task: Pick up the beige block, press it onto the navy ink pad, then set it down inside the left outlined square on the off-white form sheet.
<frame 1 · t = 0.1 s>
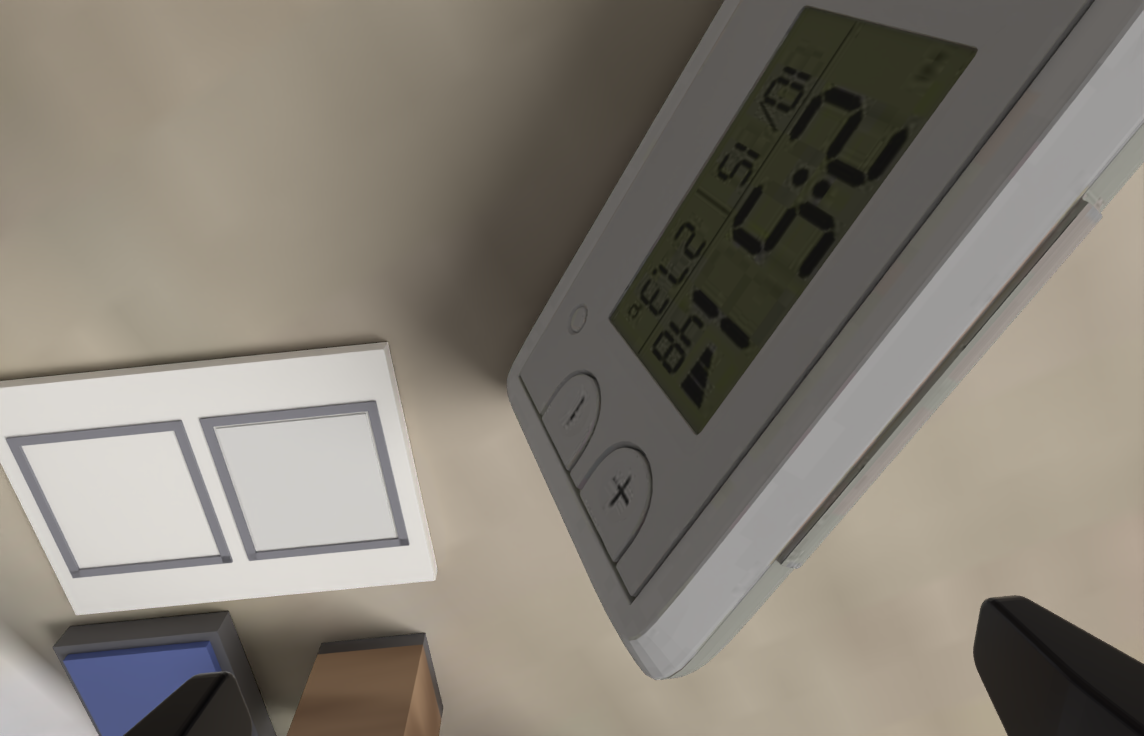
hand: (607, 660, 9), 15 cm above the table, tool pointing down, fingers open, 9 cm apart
form sheet: (225, 482, 24), on the table
beige block: (384, 675, 28), on the table
ink pad: (179, 687, 28), on the table
digital clock: (701, 210, 21), on the table
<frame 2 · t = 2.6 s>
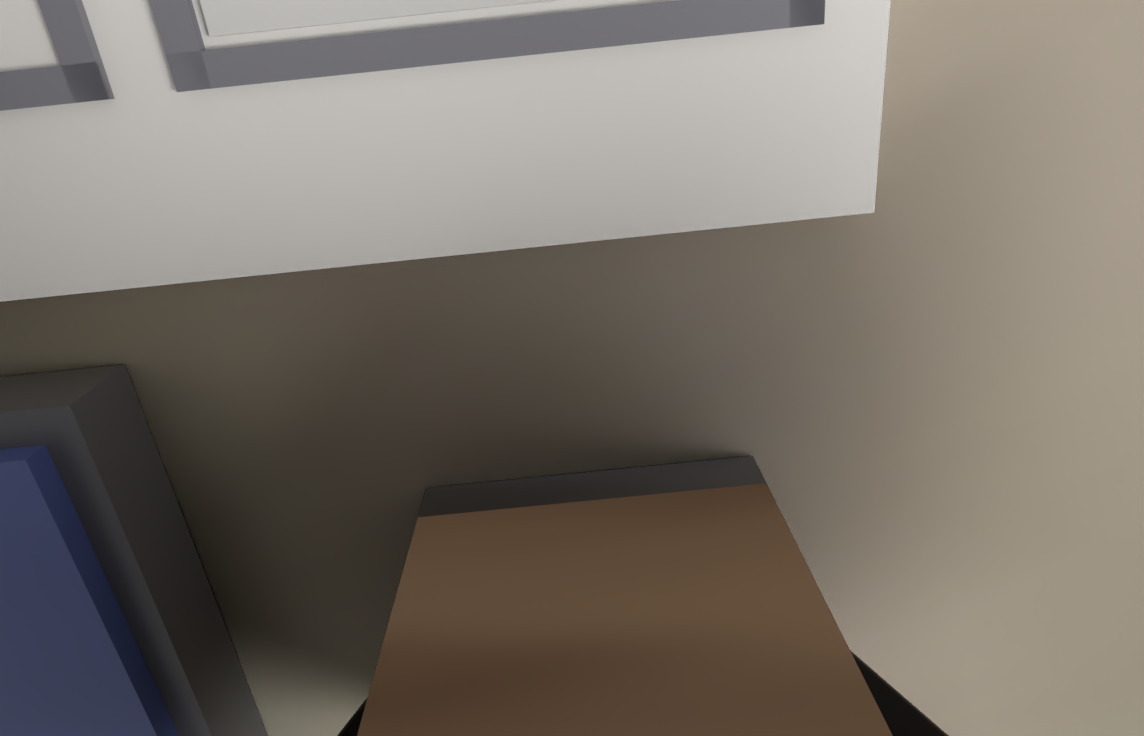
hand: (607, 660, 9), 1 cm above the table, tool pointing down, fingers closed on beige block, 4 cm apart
beige block: (601, 599, 10), on the table, touching gripper
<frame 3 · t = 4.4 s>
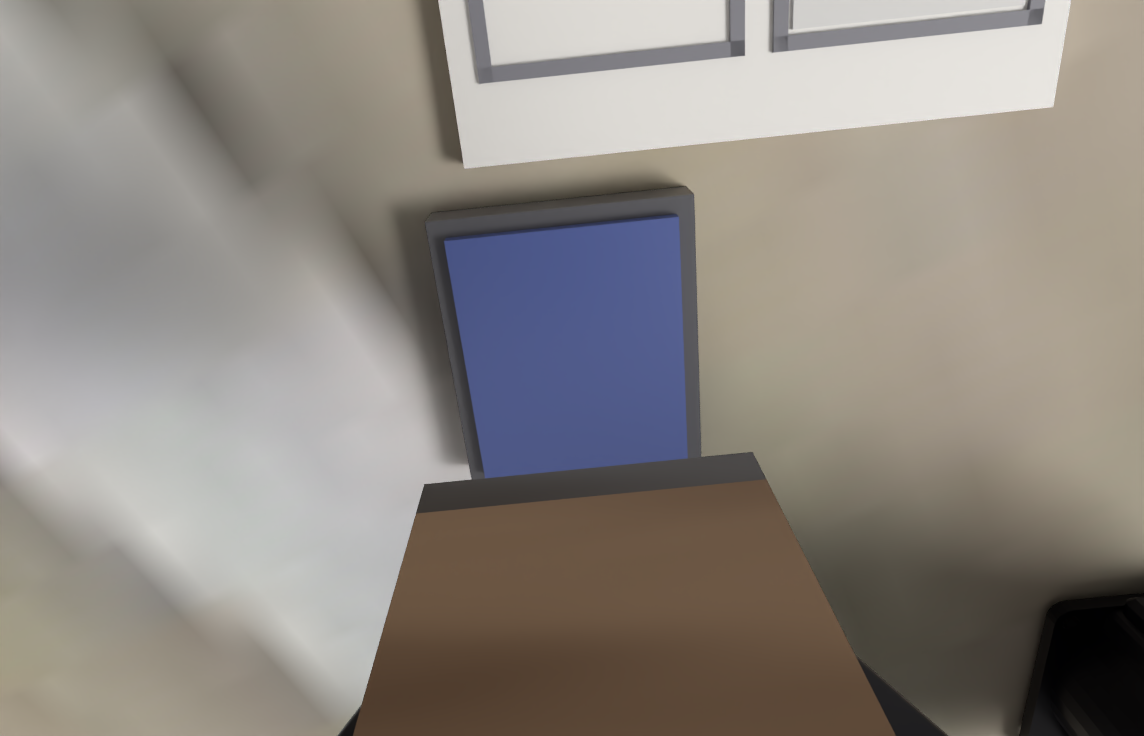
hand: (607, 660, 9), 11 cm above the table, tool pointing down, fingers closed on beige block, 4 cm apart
beige block: (601, 596, 10), point 10 cm above the table, touching gripper
ink pad: (572, 337, 18), on the table
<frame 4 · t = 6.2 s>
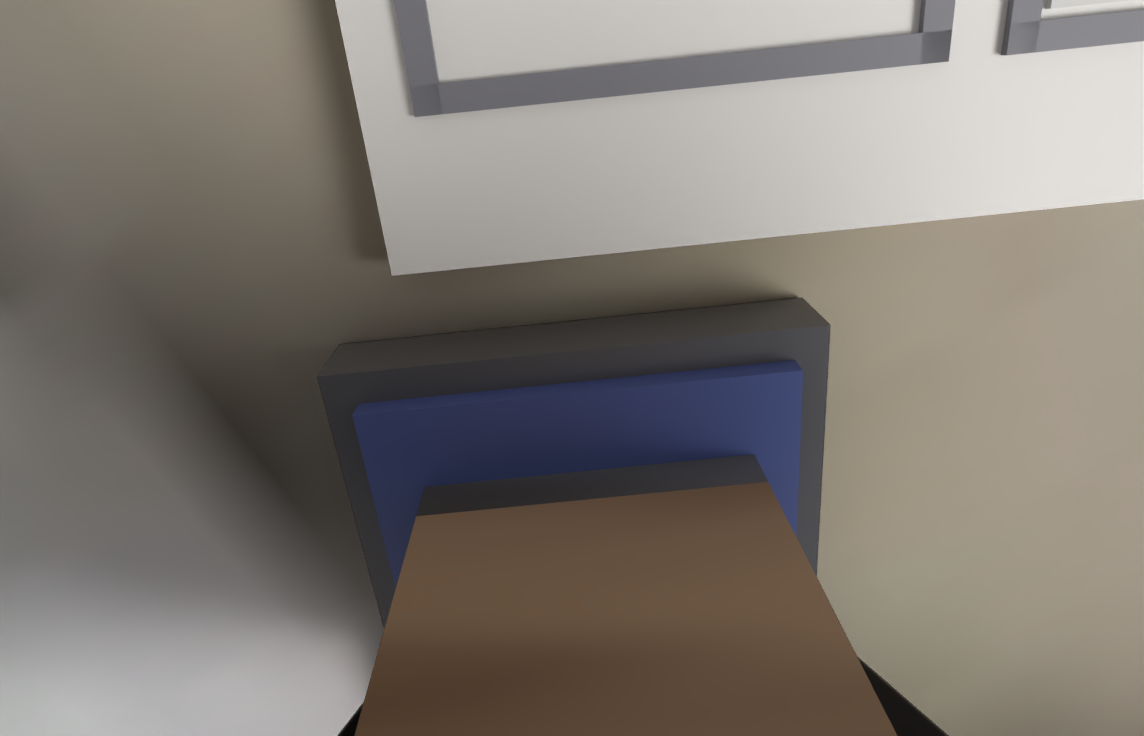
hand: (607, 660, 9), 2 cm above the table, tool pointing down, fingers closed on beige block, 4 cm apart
beige block: (601, 599, 9), point 1 cm above the table, touching gripper, ink pad
ink pad: (592, 540, 11), on the table
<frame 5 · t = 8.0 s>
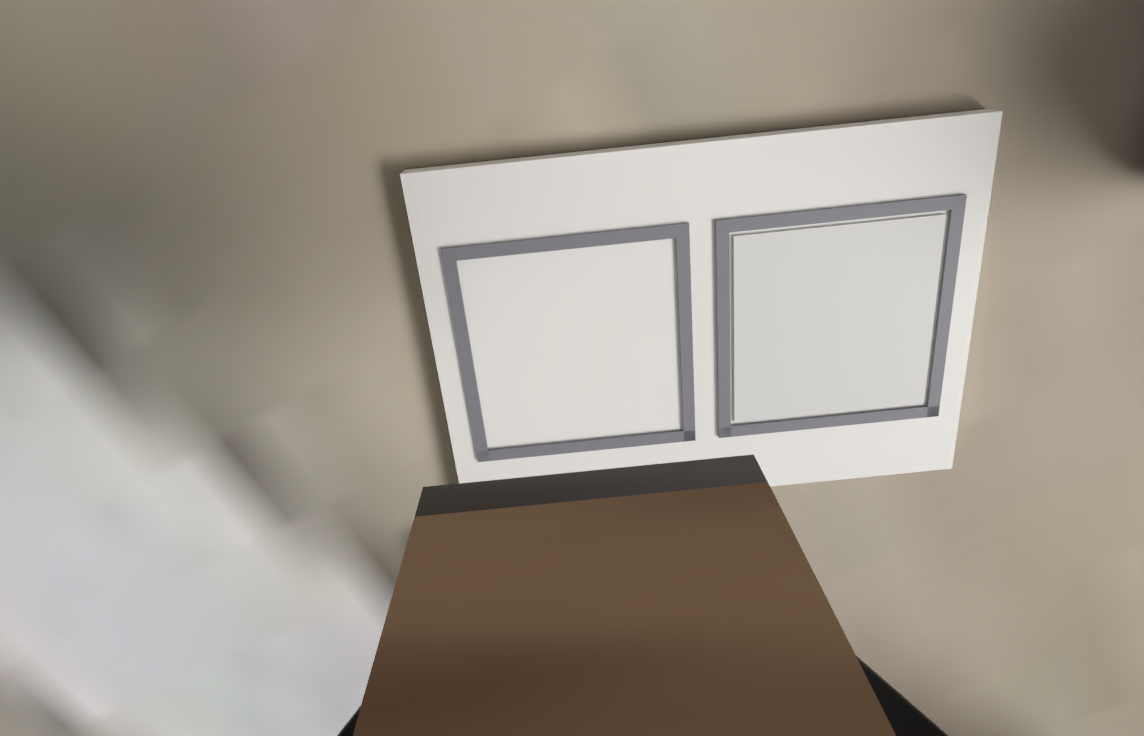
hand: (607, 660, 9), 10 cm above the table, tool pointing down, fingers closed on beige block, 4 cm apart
form sheet: (699, 327, 18), on the table
beige block: (601, 599, 9), point 9 cm above the table, touching gripper
when the fingers open (2 cm above the table, at t = 9.7 s): beige block stays where it is, resting on form sheet.
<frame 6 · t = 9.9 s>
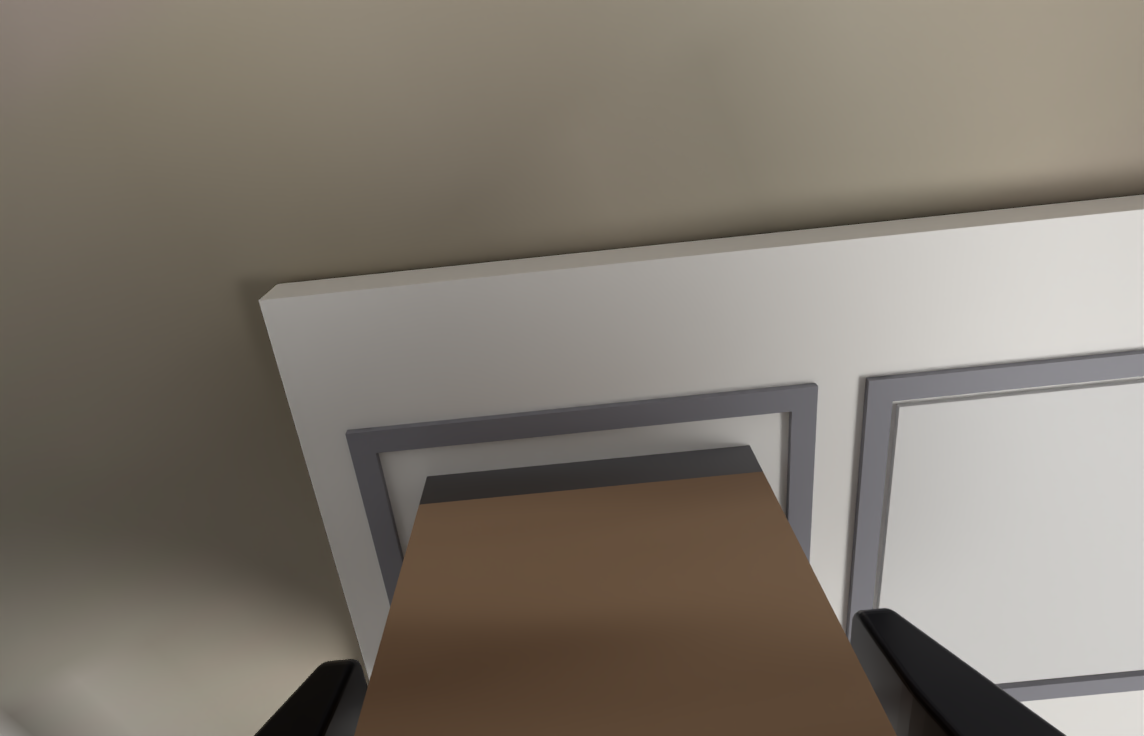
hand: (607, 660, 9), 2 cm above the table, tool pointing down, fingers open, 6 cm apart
form sheet: (813, 539, 10), on the table
beige block: (600, 587, 10), point 1 cm above the table, touching form sheet
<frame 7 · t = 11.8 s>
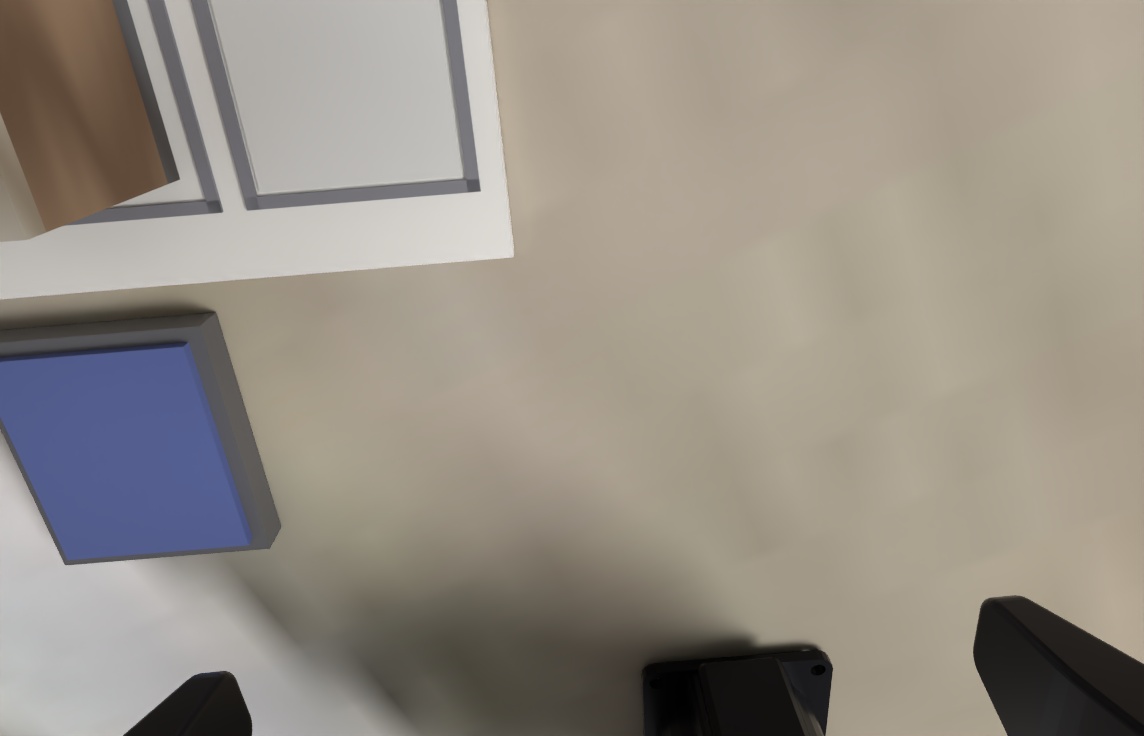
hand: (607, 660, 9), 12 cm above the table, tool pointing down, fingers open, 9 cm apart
form sheet: (213, 84, 17), on the table
beige block: (63, 95, 16), point 1 cm above the table, touching form sheet
ink pad: (145, 436, 20), on the table
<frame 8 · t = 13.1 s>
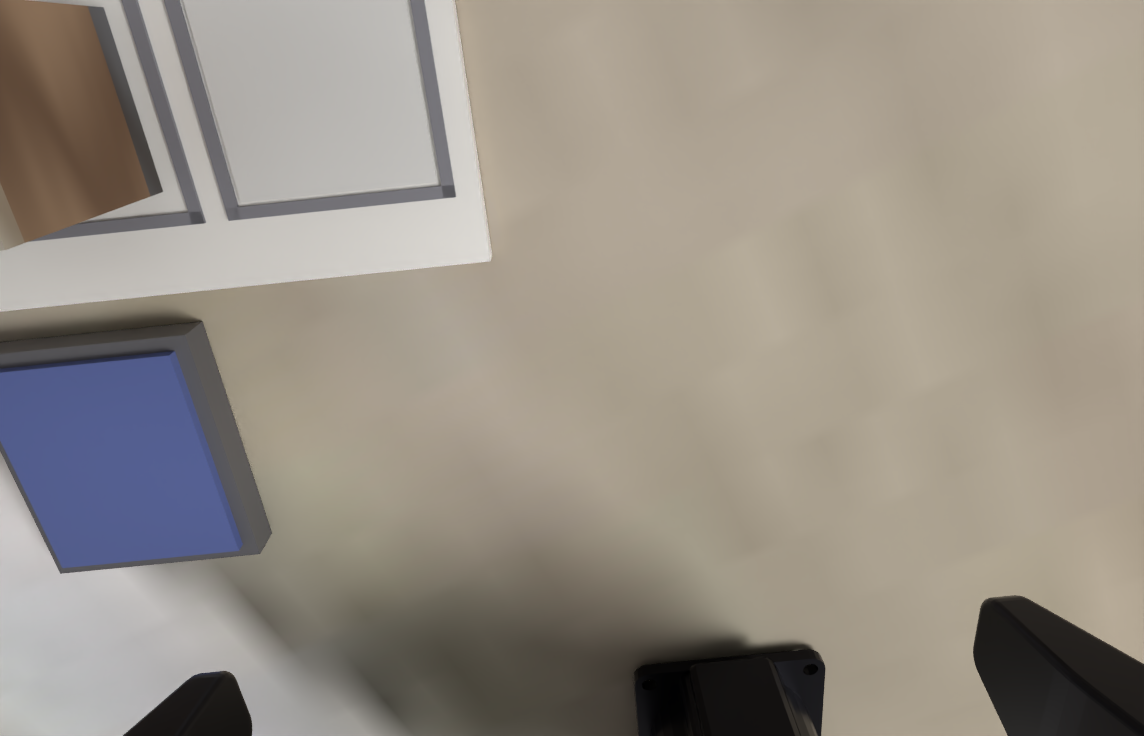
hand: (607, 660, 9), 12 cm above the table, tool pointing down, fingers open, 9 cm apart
form sheet: (193, 99, 17), on the table
beige block: (49, 112, 17), point 1 cm above the table, touching form sheet
ink pad: (137, 444, 21), on the table
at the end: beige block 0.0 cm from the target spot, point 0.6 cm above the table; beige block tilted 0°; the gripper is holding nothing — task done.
